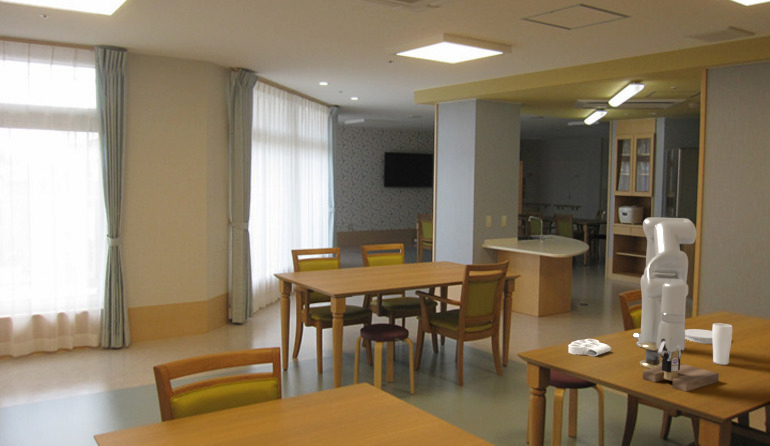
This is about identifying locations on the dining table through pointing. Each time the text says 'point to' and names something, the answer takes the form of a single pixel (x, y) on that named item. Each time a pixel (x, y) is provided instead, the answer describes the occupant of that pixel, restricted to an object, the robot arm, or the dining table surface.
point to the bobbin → (650, 355)
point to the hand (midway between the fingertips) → (670, 369)
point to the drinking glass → (721, 342)
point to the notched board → (684, 377)
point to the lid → (699, 336)
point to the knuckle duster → (588, 347)
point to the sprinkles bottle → (674, 366)
